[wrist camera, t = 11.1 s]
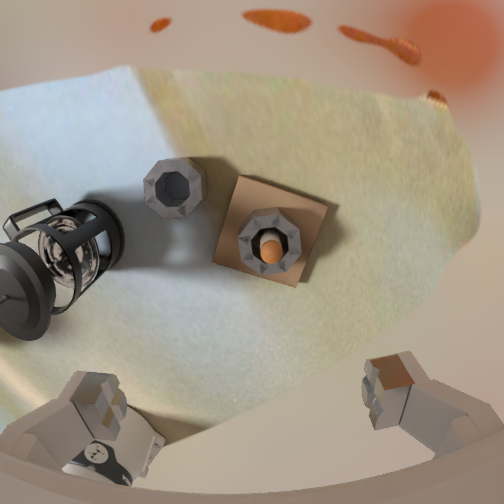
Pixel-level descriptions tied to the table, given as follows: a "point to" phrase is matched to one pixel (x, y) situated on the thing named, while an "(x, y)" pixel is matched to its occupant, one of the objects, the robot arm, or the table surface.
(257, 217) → the grey octagonal nut
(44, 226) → the french press
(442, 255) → the table surface
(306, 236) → the keeper
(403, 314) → the table surface
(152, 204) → the grey octagonal ring
